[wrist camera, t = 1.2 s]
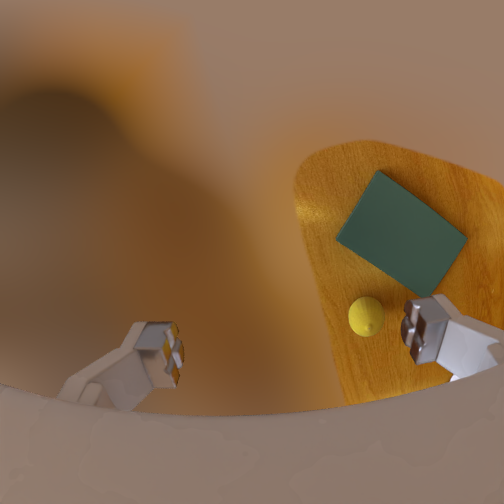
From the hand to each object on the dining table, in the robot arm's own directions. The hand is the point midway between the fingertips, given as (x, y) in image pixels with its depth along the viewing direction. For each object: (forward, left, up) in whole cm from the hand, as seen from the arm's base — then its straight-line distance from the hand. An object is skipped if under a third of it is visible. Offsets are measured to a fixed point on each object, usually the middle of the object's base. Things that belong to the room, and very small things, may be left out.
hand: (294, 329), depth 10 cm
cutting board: (-13, -3, -36) cm, 39 cm away
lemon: (-14, +9, -37) cm, 40 cm away
